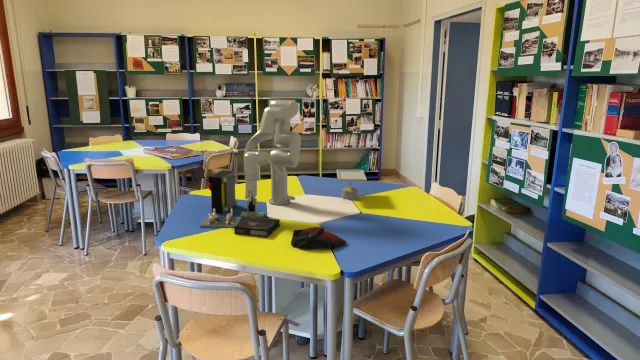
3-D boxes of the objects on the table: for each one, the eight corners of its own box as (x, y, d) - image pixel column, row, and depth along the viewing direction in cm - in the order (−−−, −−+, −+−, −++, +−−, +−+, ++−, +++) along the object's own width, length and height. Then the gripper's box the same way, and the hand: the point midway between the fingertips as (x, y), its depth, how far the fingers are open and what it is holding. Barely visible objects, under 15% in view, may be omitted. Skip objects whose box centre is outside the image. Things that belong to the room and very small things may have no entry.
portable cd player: (234, 235, 204) (234, 227, 204) (249, 223, 221) (249, 216, 220) (266, 238, 200) (266, 230, 199) (279, 227, 216) (279, 219, 215)
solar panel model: (365, 204, 257) (366, 179, 254) (336, 203, 257) (337, 178, 254) (362, 192, 284) (362, 169, 281) (335, 191, 284) (336, 169, 281)
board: (264, 214, 235) (264, 197, 233) (262, 218, 228) (262, 201, 226) (242, 213, 235) (241, 197, 233) (239, 217, 228) (239, 201, 226)
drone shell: (285, 245, 192) (284, 228, 190) (311, 233, 207) (312, 217, 205) (323, 257, 180) (323, 239, 178) (349, 243, 195) (349, 227, 193)
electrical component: (226, 213, 235) (224, 177, 230) (208, 212, 237) (207, 176, 232) (238, 204, 252) (237, 171, 247) (222, 203, 254) (220, 170, 249)
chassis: (241, 218, 227) (241, 207, 225) (236, 227, 213) (235, 216, 212) (207, 218, 227) (206, 207, 225) (199, 227, 213) (199, 215, 212)
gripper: (247, 173, 235) (247, 205, 239) (241, 180, 219) (242, 215, 223) (260, 173, 235) (261, 206, 239) (256, 180, 219) (257, 215, 223)
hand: (252, 210), depth 231 cm, fingers closed on board, 3 cm apart
